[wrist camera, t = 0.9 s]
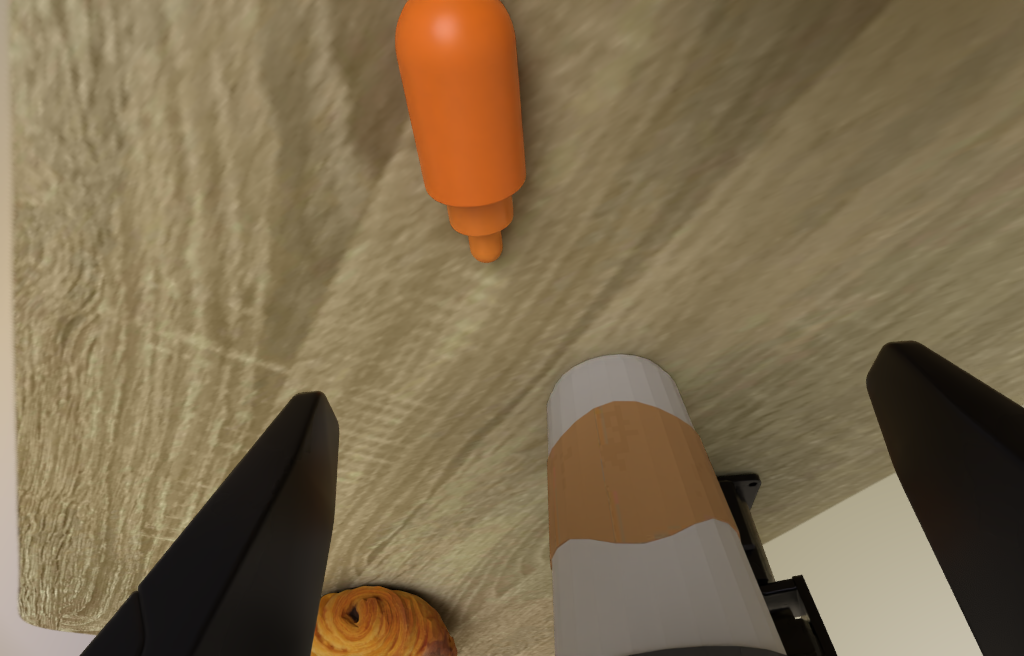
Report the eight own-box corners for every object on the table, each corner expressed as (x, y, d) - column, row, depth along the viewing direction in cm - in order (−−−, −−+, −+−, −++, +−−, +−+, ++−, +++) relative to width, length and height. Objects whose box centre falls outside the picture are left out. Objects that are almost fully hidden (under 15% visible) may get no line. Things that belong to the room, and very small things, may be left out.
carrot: (528, 244, 22) (539, 300, 20) (445, 254, 22) (446, 311, 20) (502, -81, 15) (513, -51, 13) (378, -66, 15) (368, -32, 13)
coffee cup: (542, 452, 32) (576, 795, 22) (509, 354, 27) (533, 757, 16) (694, 427, 31) (807, 774, 21) (694, 319, 26) (852, 725, 15)
